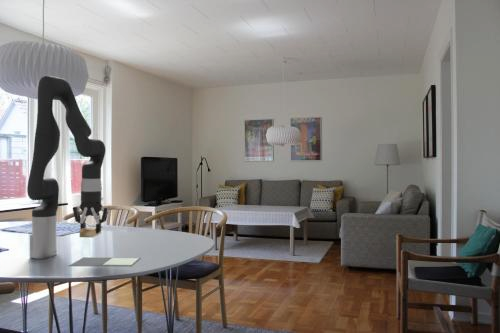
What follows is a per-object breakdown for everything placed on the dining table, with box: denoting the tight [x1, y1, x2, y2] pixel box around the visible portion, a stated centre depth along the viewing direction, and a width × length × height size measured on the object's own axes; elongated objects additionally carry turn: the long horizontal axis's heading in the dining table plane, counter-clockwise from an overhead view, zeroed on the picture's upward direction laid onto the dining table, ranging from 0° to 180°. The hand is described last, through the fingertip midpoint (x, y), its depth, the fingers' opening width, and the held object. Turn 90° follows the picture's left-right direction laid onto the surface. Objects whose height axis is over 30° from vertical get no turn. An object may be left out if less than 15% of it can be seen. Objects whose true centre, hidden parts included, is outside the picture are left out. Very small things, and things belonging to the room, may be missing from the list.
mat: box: [68, 256, 142, 268], centre depth 164 cm, size 24×14×1 cm, turn 90°
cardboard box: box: [79, 225, 102, 238], centre depth 164 cm, size 5×9×3 cm, turn 0°
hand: (90, 232), depth 164 cm, fingers closed on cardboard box, 5 cm apart
